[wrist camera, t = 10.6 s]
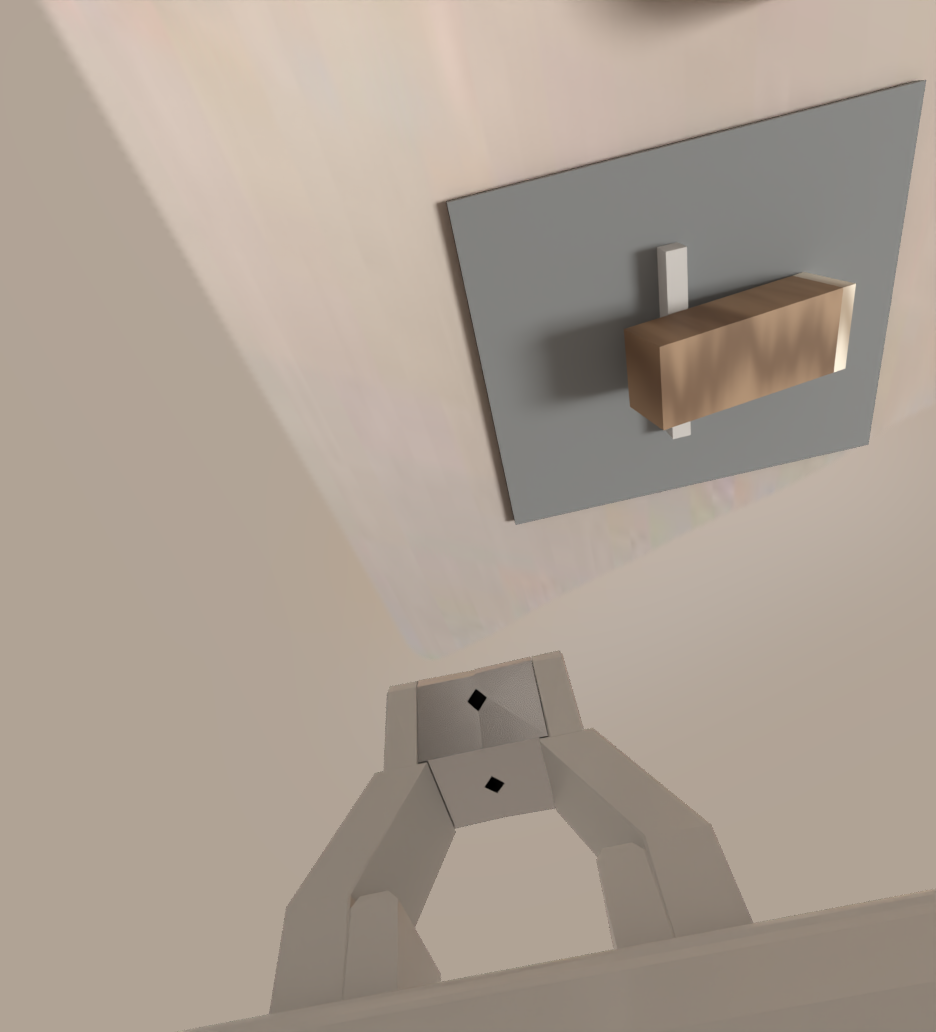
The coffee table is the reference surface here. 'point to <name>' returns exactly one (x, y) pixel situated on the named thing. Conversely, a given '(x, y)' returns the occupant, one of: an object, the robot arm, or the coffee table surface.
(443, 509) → the coffee table surface
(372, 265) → the coffee table surface
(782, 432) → the slate mat
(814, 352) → the walnut block
